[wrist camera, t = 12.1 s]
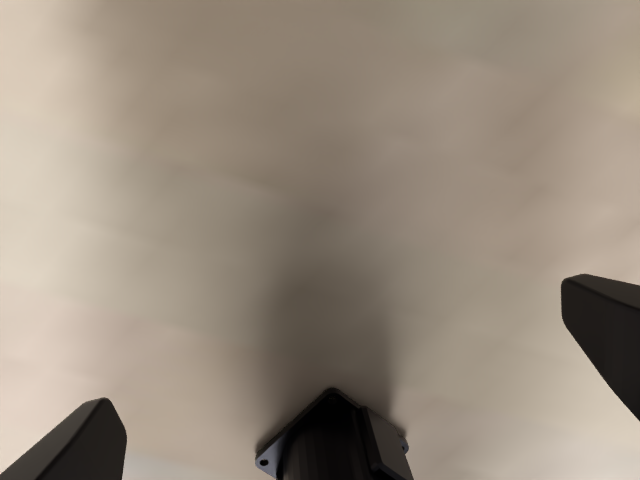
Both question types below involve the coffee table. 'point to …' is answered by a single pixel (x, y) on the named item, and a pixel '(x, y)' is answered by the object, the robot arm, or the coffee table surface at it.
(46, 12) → the coffee table surface
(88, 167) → the coffee table surface
